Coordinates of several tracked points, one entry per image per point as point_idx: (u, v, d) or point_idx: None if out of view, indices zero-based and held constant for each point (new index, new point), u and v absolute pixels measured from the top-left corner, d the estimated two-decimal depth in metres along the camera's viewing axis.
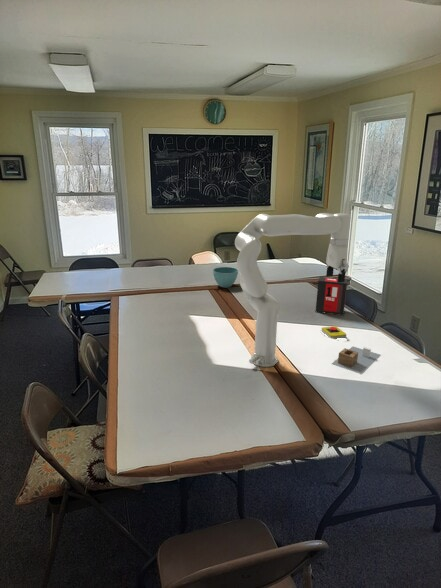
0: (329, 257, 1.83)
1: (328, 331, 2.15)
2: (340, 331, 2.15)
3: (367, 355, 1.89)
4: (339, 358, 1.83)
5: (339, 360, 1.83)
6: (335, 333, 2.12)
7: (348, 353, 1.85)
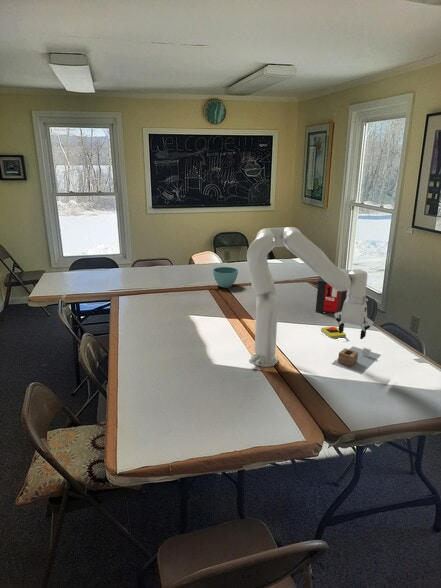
0: None
1: (327, 331, 2.15)
2: None
3: (367, 355, 1.89)
4: (339, 358, 1.83)
5: (339, 360, 1.83)
6: (335, 333, 2.12)
7: (348, 353, 1.85)
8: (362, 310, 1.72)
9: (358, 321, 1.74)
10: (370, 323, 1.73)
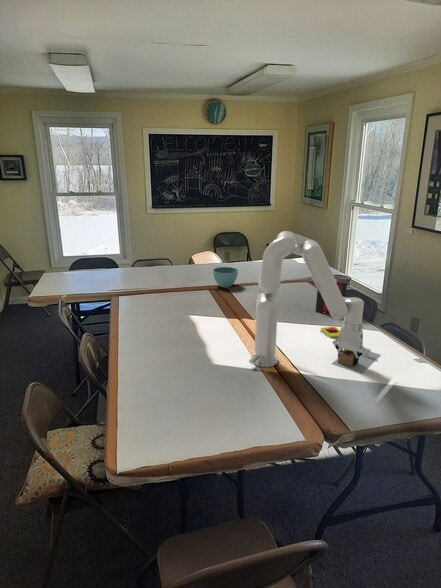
0: None
1: (327, 331, 2.14)
2: (339, 331, 2.15)
3: (367, 355, 1.89)
4: (339, 358, 1.83)
5: (339, 360, 1.83)
6: (334, 333, 2.12)
7: (348, 353, 1.85)
8: (358, 337, 1.76)
9: (354, 347, 1.78)
10: (364, 351, 1.77)
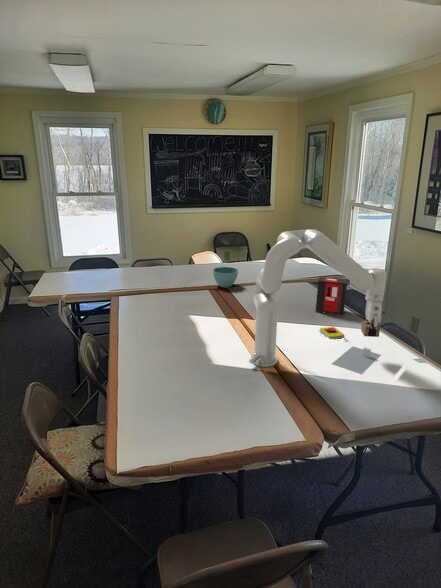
0: None
1: (326, 332, 2.14)
2: (338, 332, 2.14)
3: (367, 355, 1.89)
4: (362, 326, 1.89)
5: (361, 328, 1.89)
6: (333, 334, 2.12)
7: None
8: (371, 307, 1.79)
9: (368, 317, 1.82)
10: (374, 323, 1.78)
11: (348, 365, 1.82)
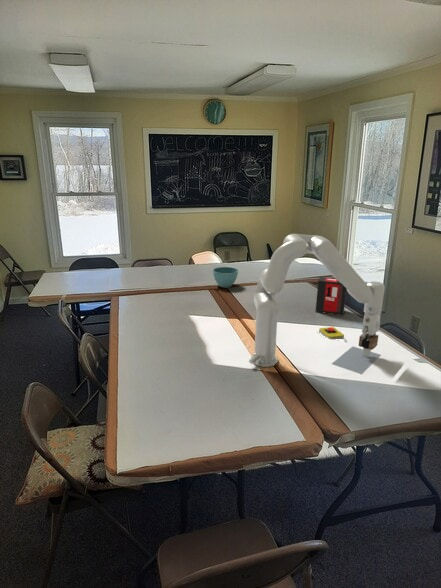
0: (375, 326, 1.83)
1: (326, 332, 2.14)
2: (338, 332, 2.14)
3: (367, 355, 1.89)
4: None
5: None
6: (333, 334, 2.11)
7: None
8: (364, 318, 1.83)
9: None
10: None
11: (348, 365, 1.82)
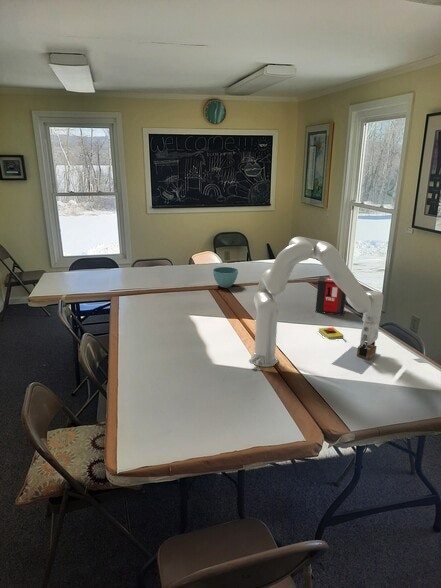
0: (373, 335, 1.84)
1: (325, 332, 2.14)
2: (337, 332, 2.14)
3: None
4: None
5: None
6: (332, 334, 2.11)
7: None
8: (362, 327, 1.84)
9: None
10: None
11: (348, 365, 1.82)
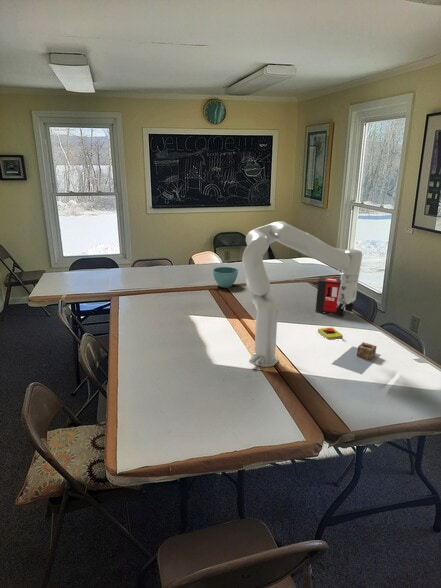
0: (351, 295, 1.79)
1: (324, 332, 2.13)
2: (336, 332, 2.13)
3: None
4: None
5: None
6: (331, 334, 2.11)
7: None
8: (340, 286, 1.79)
9: None
10: None
11: (348, 365, 1.82)
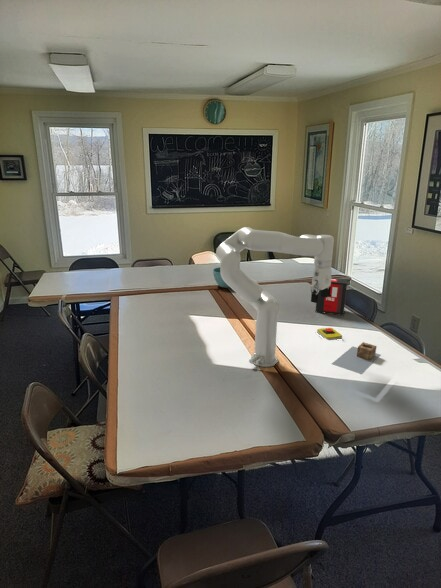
0: (325, 281, 1.79)
1: (324, 332, 2.13)
2: (336, 332, 2.13)
3: None
4: None
5: None
6: (331, 334, 2.11)
7: None
8: None
9: None
10: None
11: (348, 365, 1.82)
